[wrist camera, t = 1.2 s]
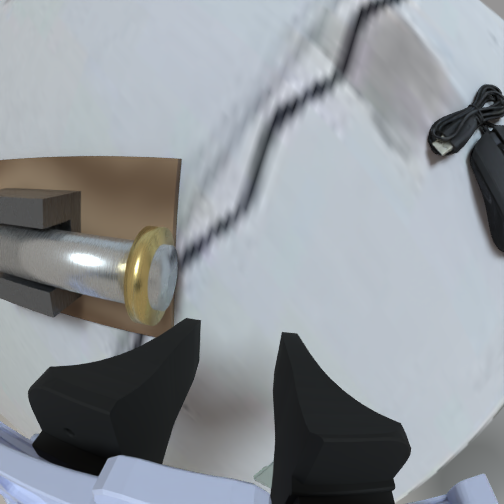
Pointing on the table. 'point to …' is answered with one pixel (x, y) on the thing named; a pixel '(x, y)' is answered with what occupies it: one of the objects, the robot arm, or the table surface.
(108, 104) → the table surface
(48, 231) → the shaft
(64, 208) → the bearing block
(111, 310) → the base board
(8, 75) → the table surface
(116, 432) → the robot arm
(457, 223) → the table surface
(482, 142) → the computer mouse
